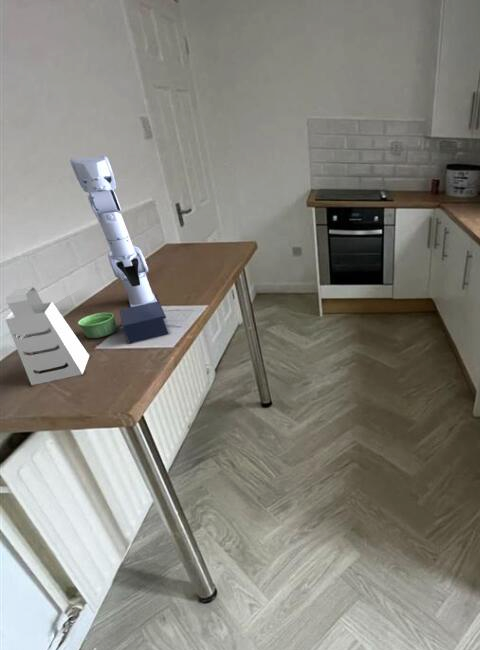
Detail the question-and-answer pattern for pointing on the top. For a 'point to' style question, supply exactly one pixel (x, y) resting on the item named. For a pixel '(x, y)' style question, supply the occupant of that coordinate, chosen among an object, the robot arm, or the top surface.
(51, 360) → the grater
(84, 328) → the ramekin
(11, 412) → the top surface
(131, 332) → the dark blue box
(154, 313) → the cover
